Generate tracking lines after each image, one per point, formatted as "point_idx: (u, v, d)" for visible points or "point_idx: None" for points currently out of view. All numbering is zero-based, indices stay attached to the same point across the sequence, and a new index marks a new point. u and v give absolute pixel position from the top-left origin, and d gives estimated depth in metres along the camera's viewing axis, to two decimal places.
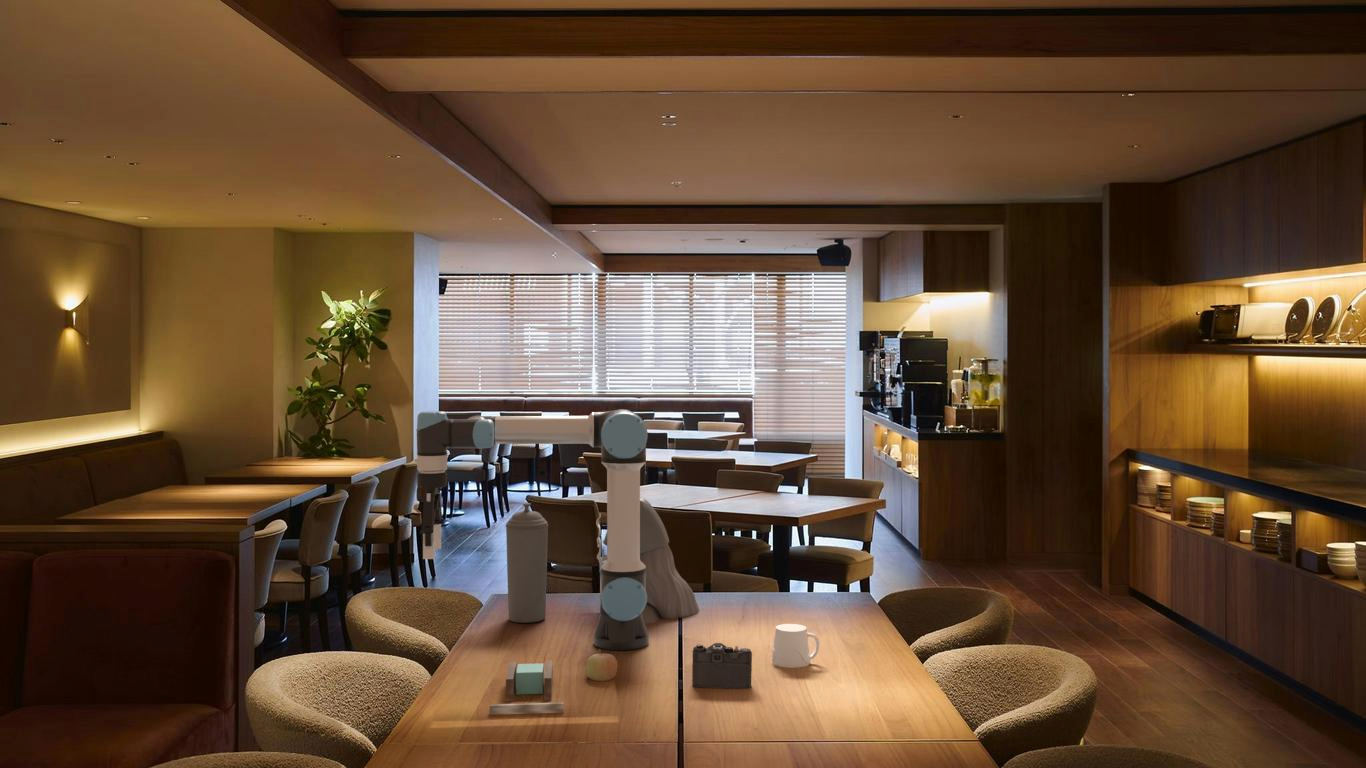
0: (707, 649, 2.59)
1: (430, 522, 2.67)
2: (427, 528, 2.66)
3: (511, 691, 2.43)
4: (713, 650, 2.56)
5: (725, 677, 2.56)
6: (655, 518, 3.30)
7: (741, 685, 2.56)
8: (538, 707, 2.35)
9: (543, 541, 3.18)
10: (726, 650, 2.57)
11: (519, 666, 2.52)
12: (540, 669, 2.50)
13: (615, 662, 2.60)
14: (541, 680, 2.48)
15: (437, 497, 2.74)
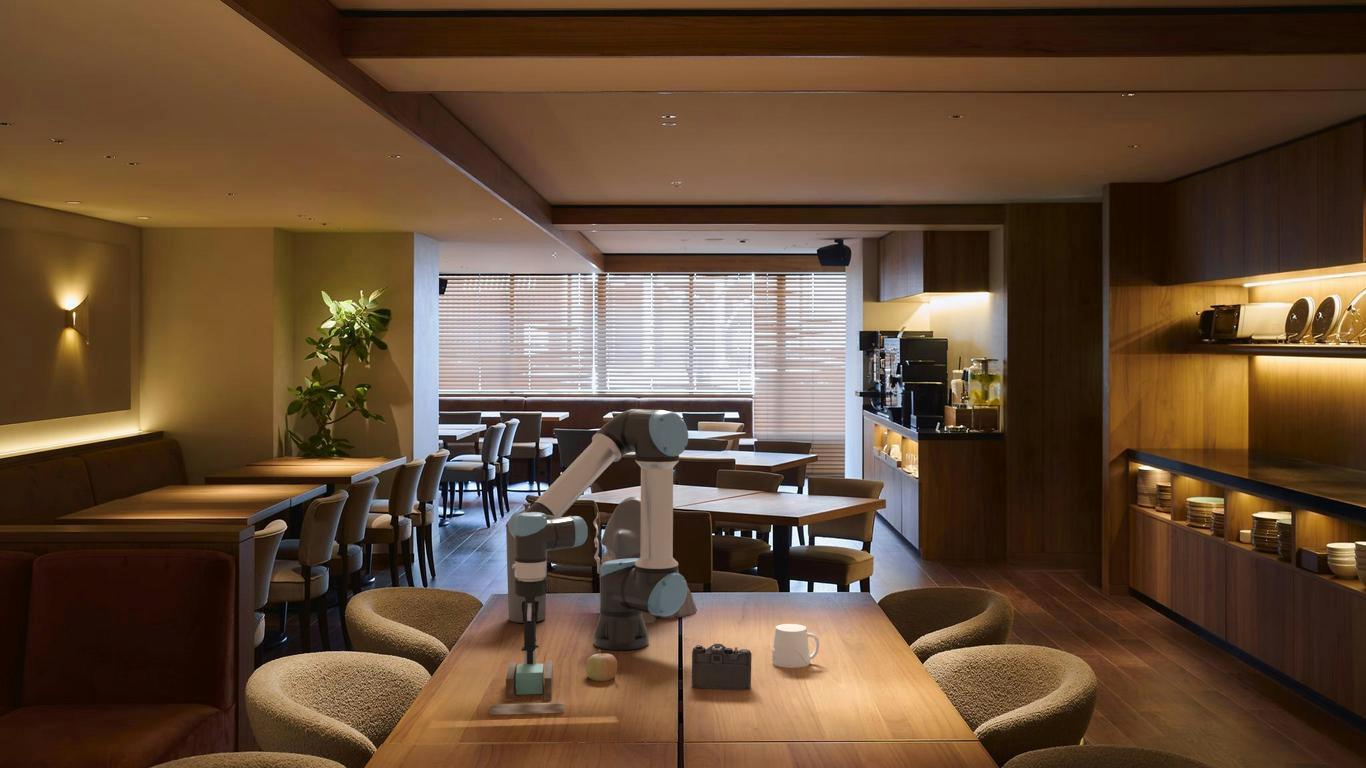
0: (707, 650, 2.59)
1: (532, 642, 2.52)
2: (530, 646, 2.53)
3: (511, 691, 2.43)
4: (712, 651, 2.55)
5: (724, 678, 2.55)
6: None
7: (740, 686, 2.55)
8: (538, 707, 2.35)
9: None
10: (725, 651, 2.56)
11: (519, 666, 2.52)
12: (540, 670, 2.50)
13: (615, 662, 2.60)
14: (541, 680, 2.48)
15: (536, 608, 2.54)
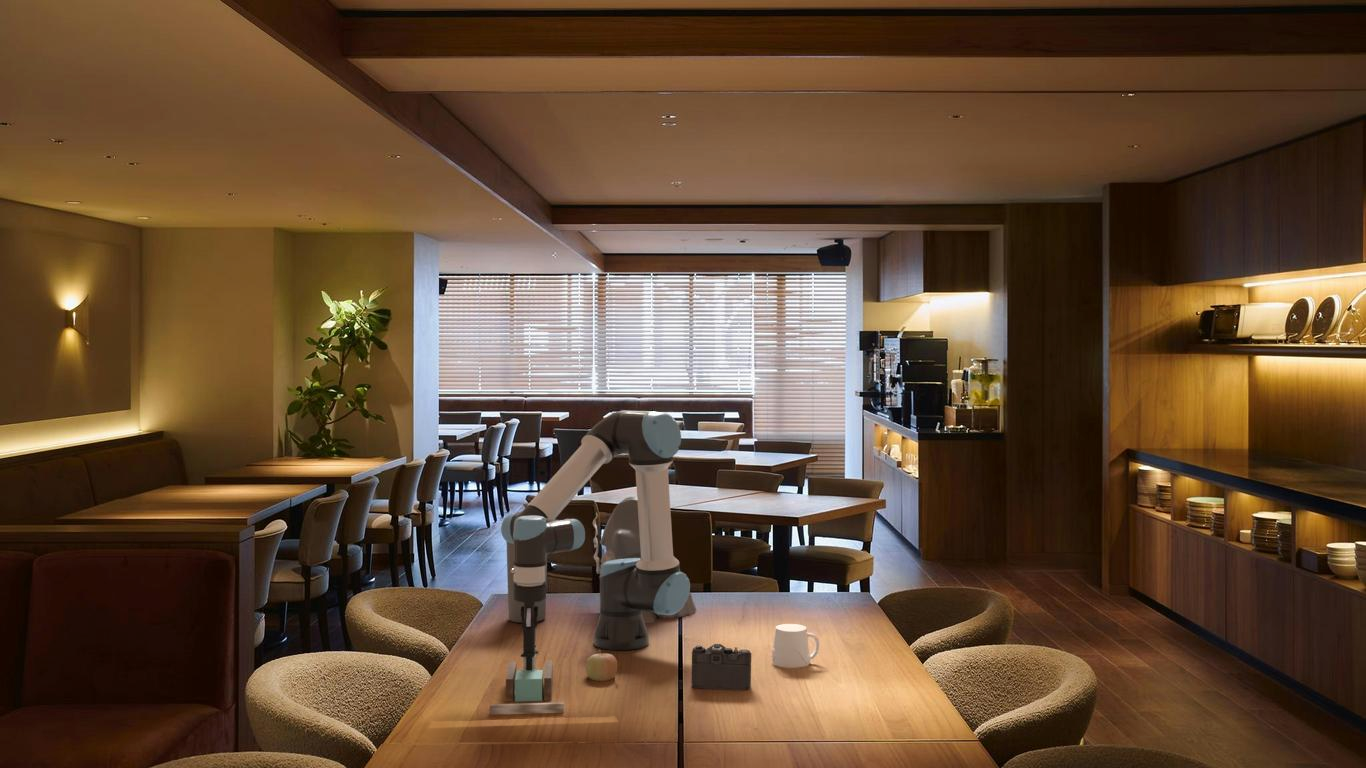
0: (706, 650, 2.58)
1: (532, 648, 2.47)
2: (529, 652, 2.48)
3: (511, 691, 2.43)
4: (712, 651, 2.55)
5: (724, 679, 2.55)
6: None
7: (740, 686, 2.55)
8: (538, 707, 2.35)
9: None
10: (725, 651, 2.56)
11: (518, 673, 2.47)
12: (540, 676, 2.45)
13: (615, 662, 2.60)
14: (540, 687, 2.43)
15: (536, 614, 2.49)
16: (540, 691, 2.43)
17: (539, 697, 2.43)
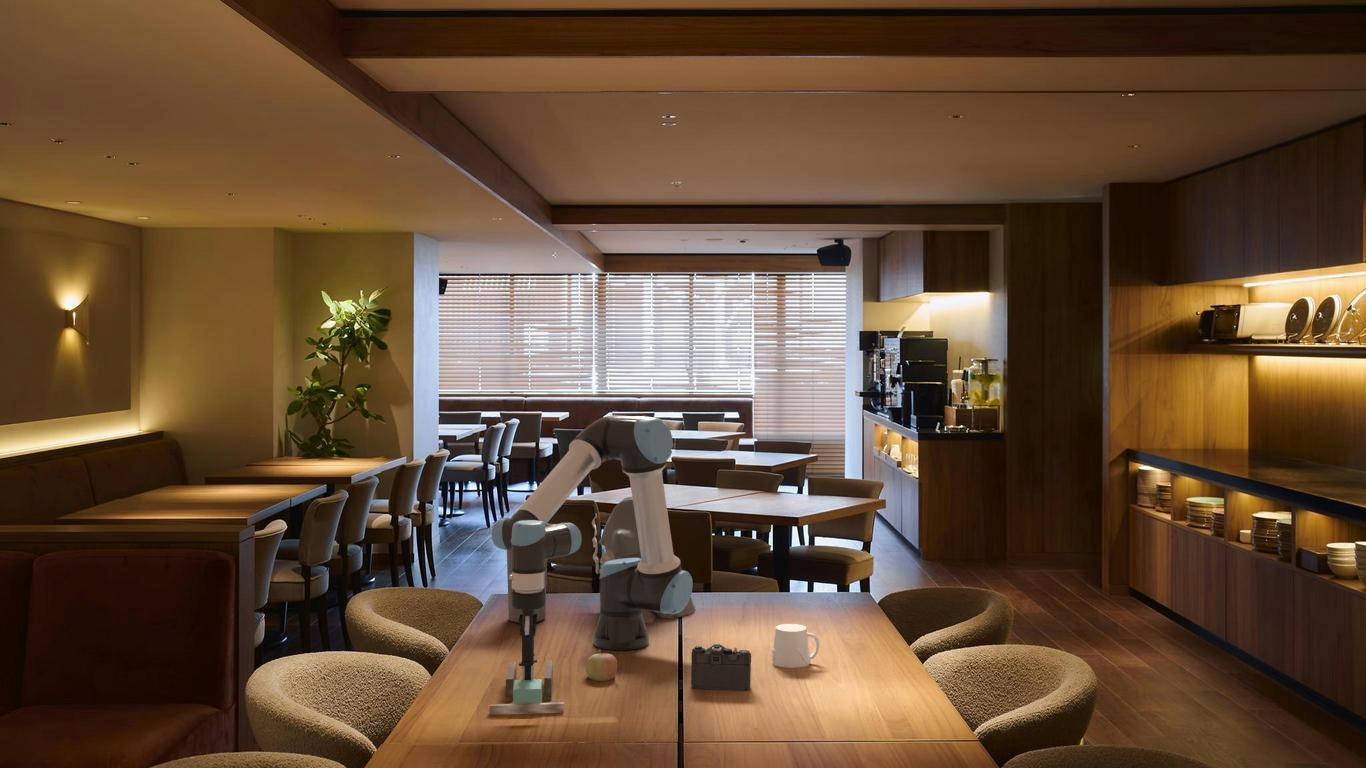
0: (706, 650, 2.58)
1: (530, 657, 2.40)
2: (528, 661, 2.40)
3: (511, 691, 2.43)
4: (712, 651, 2.55)
5: (724, 679, 2.55)
6: None
7: (740, 687, 2.54)
8: (538, 707, 2.35)
9: None
10: (725, 652, 2.56)
11: (516, 682, 2.40)
12: (538, 686, 2.37)
13: (615, 662, 2.60)
14: (539, 697, 2.36)
15: (535, 621, 2.42)
16: (539, 701, 2.36)
17: None
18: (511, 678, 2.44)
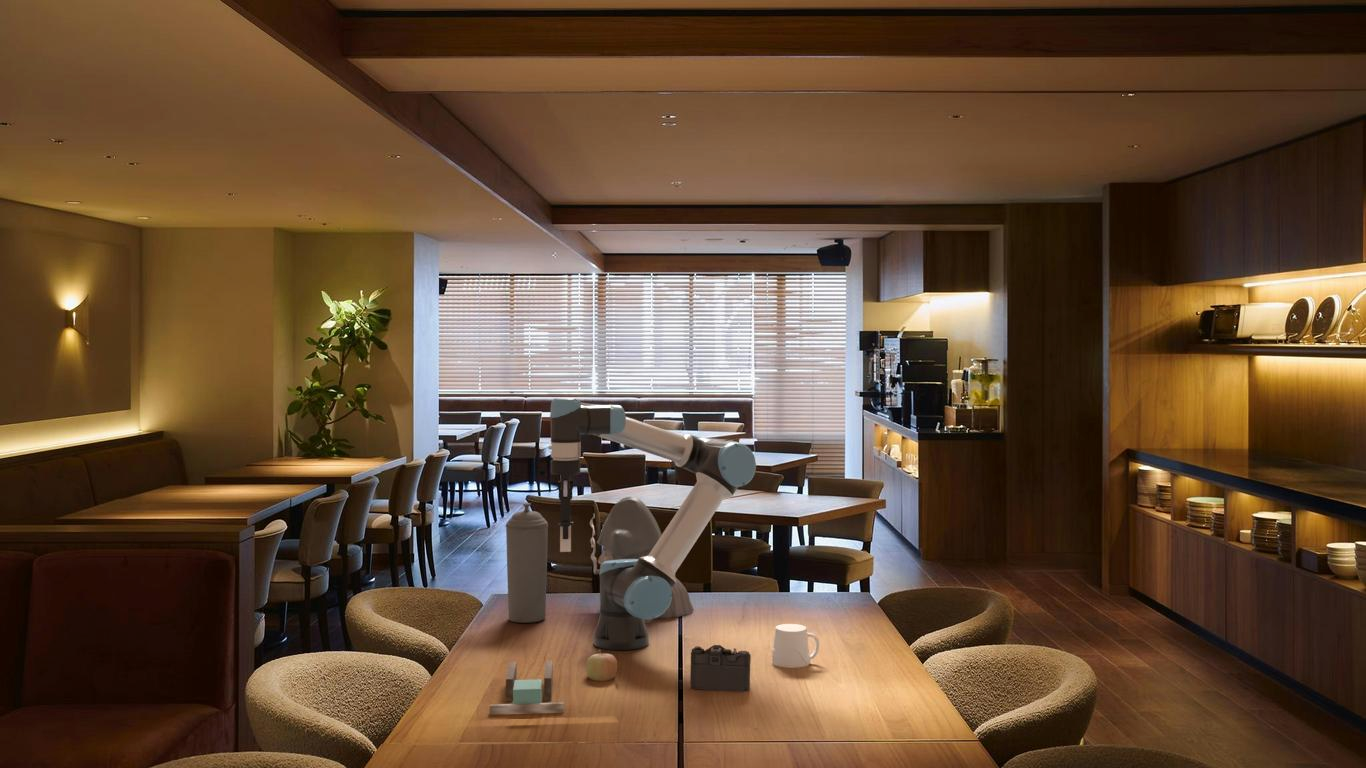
0: (706, 651, 2.58)
1: (568, 517, 2.69)
2: (566, 521, 2.70)
3: (511, 691, 2.43)
4: (711, 652, 2.54)
5: (723, 680, 2.54)
6: (649, 518, 3.30)
7: (739, 687, 2.54)
8: (538, 707, 2.35)
9: (543, 541, 3.18)
10: (724, 652, 2.55)
11: (516, 682, 2.40)
12: (538, 686, 2.37)
13: (615, 662, 2.60)
14: (539, 697, 2.36)
15: (571, 486, 2.71)
16: (539, 701, 2.36)
17: None
18: (511, 678, 2.44)
